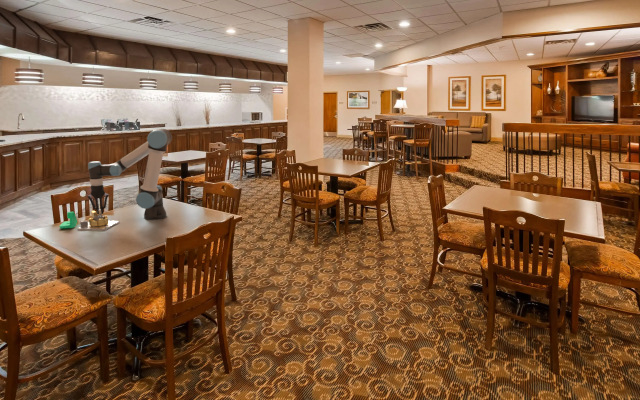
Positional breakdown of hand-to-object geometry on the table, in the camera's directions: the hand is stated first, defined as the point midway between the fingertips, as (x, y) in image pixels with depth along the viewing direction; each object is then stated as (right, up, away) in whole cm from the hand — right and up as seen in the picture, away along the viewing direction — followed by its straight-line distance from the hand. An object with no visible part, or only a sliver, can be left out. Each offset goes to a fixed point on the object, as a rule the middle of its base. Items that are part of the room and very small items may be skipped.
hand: (101, 218), depth 274 cm
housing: (+3, -5, -7) cm, 9 cm away
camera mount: (-16, -5, -9) cm, 19 cm away
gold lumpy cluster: (+1, -3, -6) cm, 6 cm away
